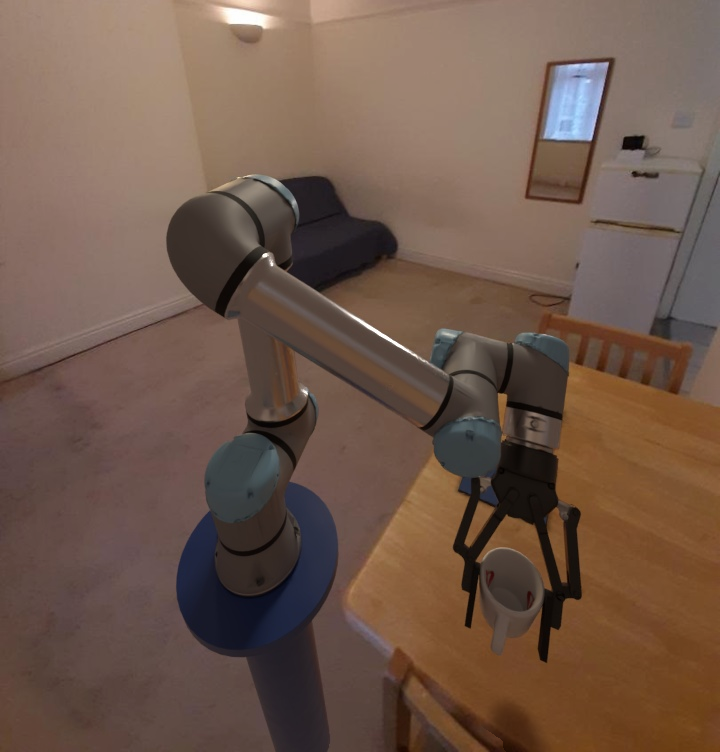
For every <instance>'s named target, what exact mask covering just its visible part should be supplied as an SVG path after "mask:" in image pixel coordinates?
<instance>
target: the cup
mask: <svg viewBox="0 0 720 752" xmlns="http://www.w3.org/2000/svg"><path fill="white" fill-rule="evenodd" d="M479 563H480V571H479V578H478V586H479V587H478V593H479V597H478V598H479V607H480V611H481V614H482V616H483V618H484V620H485V622H486V623H487V625H488V626H489V627H490V628H491V629H492V630H493V633H492V637H491V641H490V650H491V652H492V653H493V654H495V655H496V656H502V655H503V653H504V650H505V645H506V640H507V638H508V639H517V638H521V637H522V636H524V635H525V634H526V633H527V632H528V631H529V630H530V628H531V627H532V626H533V623H534V621H535V619H536V618H537V617H538V615H539V613H540V612H541V610H542V605H543V603H544V598H545V589H546V588H545V583H544V581H543V577H542V575H541V572H540V571H539V570H538V568H537V567H536V565H535V564H534V563H533V562H532V560H531V559H530V558H528V557H527V556H526V555H525V554H523V553H522V552H520V551H518V550H517V549H514V548H510V547H504V546H503V547H496V548H493V549H491V550H488V551H487V552H486V553H485V554H484V556H483V557H482V559H481V560H480V562H479Z"/></svg>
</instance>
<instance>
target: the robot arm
mask: <svg viewBox="0 0 720 752" xmlns="http://www.w3.org/2000/svg"><path fill="white" fill-rule="evenodd" d="M299 222H300V210H299V205H298V203H297V201H296V198H295V196H294V195H293V193H292V192H291V191H290V190H289V188H287V187H286V186H285V185H284V184H283V183H281V182H280V180H277V179H276V178H274V177H272V176H268V175H265V174H257V173H256V174H249V175H246V176H245V175H244V176H239V177H236V178H233V179H231V180H230V181H229V182H227V183H224V184H222V185H220V186H218V187H215V188H213V189H211V190H209V191H206V192H204V193H201V194H198V195H195V196H193V197H191V198H189V199H188V200H186V201H185V202H184V203H182V204H181V205H180V206H179V207H178V208H177V209H176V211H175V212H174V213H173V215H172V217H171V218H170V221H169V222H168V226H167V231H166V234H165V235H166V236H165V245H166V252H167V257H168V259H169V262H170V265H171V267H172V269H173V271H174V273H175V274H176V276H177V278H178V279H179V281H180V282H181V283H182V284H183V286H184V287H185V288H186V289H187V290H188V292H189V293H190V294H191V295H192V296H194V297H195V298H196V299H197V301H199V302H200V303H202V304H203V305H204V306H206V308H208V309H209V310H211V311H213V312H214V313H216V314H217V315H219V316H220V317H222V318H224V319H225V320H227V321H231V320H232V321H233V320H237V324H238V330H239V334H240V336H239V337H240V340H241V341H240V342H241V346H242V350H243V355H244V356H243V357H244V362H245V367H246V373H247V376H248V383H249V388H250V390H249V392H248V393H247V395H246V397H245V401H244V408H245V413H246V418H247V424H246V427H244V430H243V431H242V432H241V433H240V434H237V435H235V436H233V439H232V440H231V441H230V440H226V441H225V442H223V443H222V444H221V445H220V446H219V447H218V448H217V449H216V450H215V451H214V453H213V454H212V455H211V457H210V459H209V460H208V463H207V465H206V467H205V471H204V478H203V479H204V480H203V483H204V489H205V490H204V494H205V495H204V496H205V500H206V501H205V502H206V504H207V507H208V510H209V511H211V514H212V517H213V520H214V524H215V527H216V530H217V533H218V542H217V545H216V550H215V568H216V572H217V575H218V578H219V581H220V583H221V584H222V586H223V587H224V588H225V589H226V590H227V591H228V592H229V593H230V594H232V595H234V596H236V597H239V598H244V599H253V598H259V597H262V596H265V595H268V594H270V593H272V592H273V591H275V590H276V589H278V588H279V587H280V586H281V585H283V584H284V583H285V582H286V581H287V580H288V578H289V577H290V576H291V574H292V573H293V571H294V570H295V568H296V566H297V564H298V561H299V558H300V555H301V549H302V539H301V532H300V528H299V525H298V523H297V521H296V519H295V517H294V516H293V514H292V513H291V512H290V511H289V510H288V509H287V507H286V504H285V498H284V494H285V490H286V488H287V486H288V483H289V482H291V479H292V477H293V474H294V472H295V471H296V468H297V466H298V464H299V461H300V459H301V458H302V456H303V453H304V450H305V449H306V446H307V444H308V442H309V440H310V438H311V436H312V435H313V433H314V432H315V430H316V426H317V422H318V419H319V404H318V401H317V397H315V395H314V393H310V389H309V388H308V387H307V386H306V385H305V384H304V383H303V382H302V381H300V380H299V377H298V368H297V360H296V353H297V354H299V355H300V356H301V357H303V358H305V359H307V360H308V361H310V362H311V363H313V364H315V365H316V366H318V367H319V368H320V369H323V370H324V371H326V372H328V373H329V374H331V375H332V376H334V377H336V378H337V379H339V380H341V381H342V382H344V383H345V384H347V385H349V386H350V387H352V388H354V389H355V390H357V391H358V392H360V393H362V394H363V395H365V396H366V397H368V398H369V399H371V400H373V401H375V402H376V403H378V404H379V405H380V406H382V407H384V408H386V409H388V410H389V411H391V412H392V413H394V414H395V415H396V416H399V417H400V418H402V419H403V420H405V421H407V422H408V423H410V424H411V425H413V426H415V427H416V428H417V429H419V430H421V431H422V432H423V433H425V434H427V435H428V436H430V437H431V438H432V441H431V442H432V446H433V455H434V457H435V459H436V460H437V461H438V463H439V464H440V466H441V468H443V469H444V470H445V471H447V472H448V473H450V474H452V475H454V476H458V477H461V478H462V477H465V478H471V495H469V498H468V500H467V503H466V507H465V509H464V512H463V515H462V518H461V520H460V524H459V527H458V530H457V532H456V535H455V537H454V541H453V545H452V551H453V552H454V553H455V554H458V555H459V556H460V557H461V558H462V560H463V562H464V566H463V571H462V578H461V584H460V585H461V591H464V592H465V593H468V599H467V607H466V613H465V620H464V627H466V628H468V629H470V630H471V629H472V622H473V616H474V611H475V603H476V597H477V590H478V585H479V571H480V563H481V562H479V561H477V559H478V558H479V556H480V555H481V553H482V552H483V550H484V549H485V547H486V545H487V544H488V543H489V541H490V540H491V538H492V536H493V535H494V534H495V532H496V530H497V529H498V527H499V526H500V524H501V523H502V522H503V521H504V519H505V518H506V516H507V517H509V518H512V519H520V520H522V521H523V522H525V523H527V524H530V525H532V526H533V525H534V529H535V532H536V535H537V539H538V543H539V546H540V550H541V553H542V558H543V562H544V566H545V569H546V573H547V576H548V580H549V584H550V587H551V590H550V589H547V588H545V598H544V603H543V605H542V608H541V614H540V623H539V633H538V642H537V653H538V658H539V661H541V662H543V663H546V664H548V660H549V659H548V658H549V648H550V639H551V631H552V630H551V629H553V630H554V629H555V630H556V631H560V629H561V627H562V618H563V609H564V602H565V601H566V600H568V599H574V600H576V601H580V600H581V599H582V597H583V591H582V590H583V589H582V579H581V578H582V577H581V567H580V564H581V563H580V553H579V540H578V539H579V538H578V527H579V523H580V520H581V516H582V513H581V510H580V509H579V508H578V506H575V505H574V504H571V503H570V504H569V503H567V502H565V501H563V500H561V499H559V497H558V494H557V489H556V486H557V477H558V467H559V461H560V460H559V457H558V454H557V455H556V454H555V451H557V452H558V451H559V450H560V448H561V439H562V429H563V419H564V409H565V403H566V395H567V387H568V380H569V379H568V378H569V376H570V347H569V346H568V344H567V343H566V342H565V341H564V340H562V339H561V338H559V337H556V336H553V335H549V334H545V333H536V332H521V333H519V334H517V335H516V338H515V340H514V341H513V342H506V341H502V340H498V339H494V338H491V337H486V336H483V335H479V334H475V333H470V332H467V331H465V330H461V331H460V330H455V329H449V328H439V329H438V330H437V331H436V333H435V336H434V338H433V341H432V346H431V349H430V356H429V360H427V359H425V358H424V357H422V356H421V355H419V354H417V353H416V352H414V351H413V350H411V349H409V348H408V347H406V346H405V345H403V344H401V343H400V342H398V341H397V340H396V339H394V338H392V337H391V336H389V335H388V334H385V333H384V332H383V331H381V330H379V329H378V328H376V327H374V325H372V324H370V323H368V322H367V321H365V320H363V319H362V318H361V317H359V316H357V315H355V314H354V313H353V312H351V311H349V310H348V309H346V308H344V307H343V306H342V305H340V304H338V303H337V302H335V301H333V300H332V299H330V298H329V297H327V296H325V294H322V293H321V292H319V291H317V290H316V289H314V288H313V287H312V286H310V285H308V284H306V283H305V282H304V281H302V280H300V279H299V278H297V277H296V276H294V275H292V274H291V273H289V272H288V271H289V270H290V269H291V268H292V266H293V264H294V257H293V247H292V240H291V237H292V236H293V235H294V233H296V230H297V227H298V226H299ZM499 394H500V395H506V402H505V407H504V408H505V409H504V415H503V423H502V427H501V419H500V409H499ZM502 436H503V437H505V438H504V439H503V440H502ZM496 467H497V468H496ZM495 468H496V471H495V473H494V475H493V476H492V477H491V478H490V477H482V476H485V475H487V474H489V473H490V472H492V471H493V470H494V469H495ZM489 486H492V488H493V491H494V493H495V495H496V497H497V500H498V504H497V505H496V506H495V507H494V508H493V510H492V512H491V513H490V515H489V516H488V518H487V520H486V521H485V522H484V524H483V525H482V527H481V528H480V530H479V532H478V533H477V535H476V536H475V538H474V539H473V541H472V542H471V544H470V546H469V545H467V543H466V544H465V542H466V539H467V536H468V534H469V531H470V528H471V525H472V522H473V519H474V516H475V513H476V511H477V507H478V505H479V502H480V499H479V498H480V494H484V493H485V492H486V489H487V488H488V487H489ZM555 509H558V515H559V517H560V518H561V520H562V521H563V523H562V527H563V528H562V529H563V543H564V559H565V574H566V582H565V581H564V582H562V579H561V575H560V572H559V568H558V565H557V561H556V558H555V554H554V549H553V548H552V543H551V540H550V537H549V531H548V528H547V523H546V524H545V520H544V518H545V517H546V516H547V517H548V515H549V514H551V512H553V511H554V510H555Z"/></svg>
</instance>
